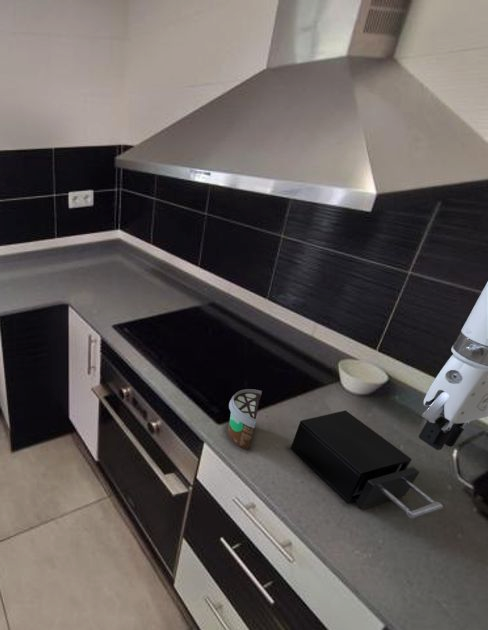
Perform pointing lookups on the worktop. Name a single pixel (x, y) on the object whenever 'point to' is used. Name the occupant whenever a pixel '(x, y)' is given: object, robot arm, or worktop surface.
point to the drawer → (392, 490)
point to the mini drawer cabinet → (344, 451)
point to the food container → (243, 416)
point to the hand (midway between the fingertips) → (435, 441)
